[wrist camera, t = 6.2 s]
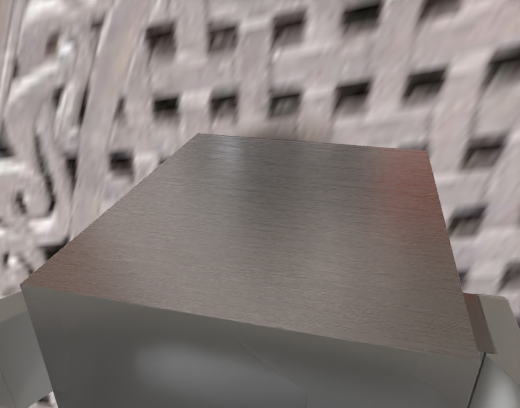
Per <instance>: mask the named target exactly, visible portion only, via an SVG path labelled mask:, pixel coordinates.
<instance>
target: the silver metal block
mask: <svg viewBox="0 0 520 408" xmlns="http://www.w3.org/2000/svg"><path fill="white" fill-rule="evenodd" d="M20 287H21V290H22V293H23V296H24V299H25V303H26V306H27V309H28V312H29V315H30V319H31V322H32V325H33V328H34V331H35V335H36V338H37V341H38V344H39V347H40V351H41V354H42V357H43V360H44V363H45V367H46V370H47V373H48V376H49V379H50V383H51V386H52V389H53V392H54V395H55V399H56V402H57V405H58V408H467V404H468V401H469V398H470V395H471V391H472V388H473V385H474V382H475V378H476V375H477V372H478V369H479V365H480V360H479V356H478V352H477V348H476V344H475V340H474V336H473V332H472V328H471V324H470V320H469V316H468V312H467V308H466V304H465V300H464V296H463V292H462V288H461V284H460V280H459V276H458V272H457V268H456V264H455V260H454V256H453V252H452V248H451V244H450V240H449V236H448V232H447V228H446V224H445V220H444V216H443V212H442V208H441V204H440V200H439V196H438V192H437V188H436V184H435V180H434V176H433V172H432V168H431V164H430V160H429V156H428V152H427V151H423V150H410V149H397V148H384V147H371V146H357V145H344V144H331V143H318V142H305V141H292V140H279V139H266V138H253V137H239V136H226V135H213V134H200V133H198V134H197V135H195V136H194V137H193V138H192V139H191V140H189V141H188V142H187V143H186V144H185V145H184V146H182V147H181V148H180V149H179V150H178V151H176V152H175V153H174V154H173V155H172V156H171V157H169V158H168V159H167V160H166V161H165V162H164V163H162V164H161V165H160V166H159V167H158V168H156V169H155V170H154V171H153V172H152V173H151V174H149V175H148V176H147V177H146V178H145V179H143V180H142V181H141V182H140V183H139V184H138V185H136V186H135V187H134V188H133V189H132V190H131V191H129V192H128V193H127V194H126V195H125V196H123V197H122V198H121V199H120V200H119V201H118V202H116V203H115V204H114V205H113V206H112V207H111V208H109V209H108V210H107V211H106V212H105V213H103V214H102V215H101V216H100V217H99V218H98V219H96V220H95V221H94V222H93V223H92V224H90V225H89V226H88V227H87V228H86V229H85V230H83V231H82V232H81V233H80V234H79V235H78V236H76V237H75V238H74V239H73V240H72V241H70V242H69V243H68V244H67V245H66V246H65V247H63V248H62V249H61V250H60V251H59V252H57V253H56V254H55V255H54V256H53V257H52V258H50V259H49V260H48V261H47V262H46V263H45V264H43V265H42V266H41V267H40V268H39V269H37V270H36V271H35V272H34V273H33V274H32V275H30V276H29V277H28V278H27V279H26V280H24V281H23V282H22V283H21V284H20Z"/></svg>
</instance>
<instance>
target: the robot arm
mask: <svg viewBox="0 0 520 408" xmlns="http://www.w3.org/2000/svg"><path fill="white" fill-rule="evenodd" d="M463 296H464V300H465V304H466V308H467V312H468V316H469V320H470V324H471V328H472V332H473V336H474V340H475V344H476V348H477V352H478V356H479V360H480V365H479V369H478V372H477V375H476V378H475V382H474V385H473V388H472V391H471V395H470V398H469V401H468V404H467V408H520V330H519V327H518V324H517V322H516V319H515V317H514V314H513V312H512V309H511V307H510V304H509V302H508V300H507V299H506V298H505V297H502V296H493V295H484V294H470V293H463ZM52 391H53V389H52V386H51V383H50V379H49V376H48V373H47V370H46V367H45V363H44V360H43V357H42V354H41V351H40V347H39V344H38V341H37V338H36V335H35V331H34V328H33V325H32V322H31V319H30V315H29V312H28V309H27V306H26V303H25V299H24V296H23V293H22V291H21V292H18V293H15V294H13V295H10V296H7V297H5V298H2V299H0V408H28V407H29V406H31V405H32V404H34V403H35V402H37V401H38V400H40V399H41V398H43V397H44V396H46V395H47V394H49V393H50V392H52Z"/></svg>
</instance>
